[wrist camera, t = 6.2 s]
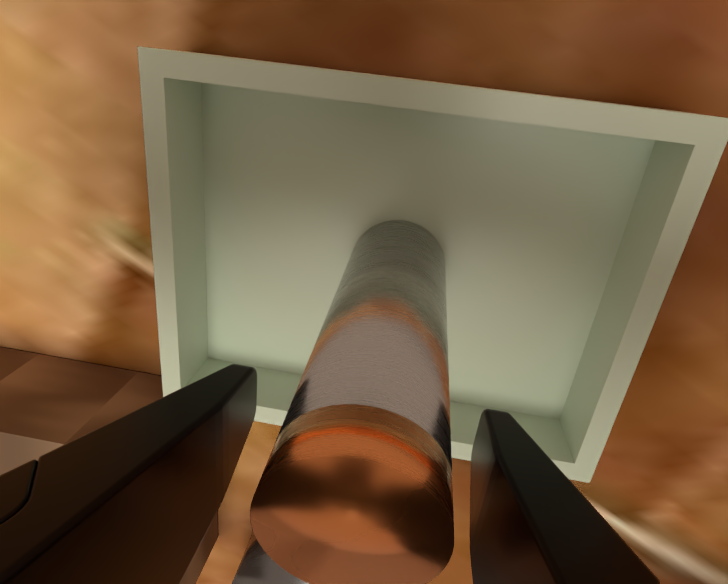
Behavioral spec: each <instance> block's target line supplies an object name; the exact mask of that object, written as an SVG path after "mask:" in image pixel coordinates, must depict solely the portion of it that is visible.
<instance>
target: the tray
mask: <svg viewBox="0 0 728 584" xmlns="http://www.w3.org/2000/svg"><path fill="white" fill-rule="evenodd" d="M137 48H138V62H139V75H140V89H141V102H142V116H143V130H144V143H145V157H146V170H147V184H148V198H149V211H150V225H151V238H152V252H153V266H154V279H155V293H156V306H157V320H158V334H159V347H160V361H161V374H162V388H163V397H164V396H166V395H168V394H171V393H173V392H175V391H177V390H179V389H181V388H183V387H185V386H187V385H189V384H191V383H193V382H195V381H198V380H200V379H202V378H204V377H206V376H208V375H210V374H212V373H214V372H216V371H218V370H220V369H223V368H225V367H227V366H229V365H231V364H239V365H245V366H250V367H254V368H255V369H256V371H257V406H256V413H255V417H254V421H258V422H263V423H269V424H274V425H280V426H282V425H283V422H284V420H285V417H286V415H287V412H288V410H289V407H290V405H291V402H292V400H293V397H294V395H295V392H296V390H297V387H298V385H299V382H300V380H301V377H302V375H303V373H304V370H305V368H306V365H307V363H308V360H309V358H310V355H311V353H312V350H313V348H314V345H315V343H316V340H317V338H318V335H319V333H320V330H321V328H322V325H323V323H324V320H325V318H326V315H327V313H328V311H329V308H330V306H331V303H332V301H333V298H334V296H335V293H336V291H337V288H338V286H339V283H340V281H341V278H342V276H343V273H344V271H345V268H346V266H347V263H348V261H349V258H350V256H351V253H352V251H353V248H354V246H355V244H356V242H357V241H358V239H359V238H360V236H361V235H362V234H363V233H364V232H365V231H367V230H368V229H369V228H371V227H372V226H374V225H376V224H379V223H382V222H385V221H390V220H404V221H409V222H413V223H415V224H418V225H420V226H422V227H424V228H425V229H427V230H428V231H429V232H430V233H431V234H433V236H434V237H435V238H436V239H437V241H438V242H439V244H440V245H441V248H442V250H443V253H444V257H445V273H446V304H447V335H448V366H449V397H450V427H451V457H452V458H458V459H463V460H468V461H471V454H472V448H473V443H474V440H475V436H476V432H477V428H478V424H479V420H480V417H481V414H482V412H483V410H484V409H493V410H499V411H505V412H508V413H509V414H511V415H512V416H513V418H514V419H515V420H516V421H517V422H518V423H519V424H520V425H521V426H522V428H523V429H524V430H525V431H526V432H527V433H528V434H529V435H530V437H531V438H532V439H533V440H534V441H535V442H536V443H537V444H538V445H539V447H540V448H541V449H542V450H543V451H544V452H545V453H546V454H547V456H548V457H549V458H550V459H551V460H552V461H553V462H554V463H555V464H556V466H557V467H558V468H559V469H560V470H561V471H562V472H563V473H564V475H565V476H566V477H567V478H568V479H571V480H576V481H582V482H587V483H590V481H591V479H592V476H593V474H594V471H595V469H596V466H597V464H598V461H599V459H600V456H601V454H602V451H603V449H604V446H605V444H606V441H607V439H608V436H609V434H610V431H611V429H612V426H613V424H614V421H615V419H616V416H617V414H618V412H619V409H620V407H621V404H622V402H623V399H624V397H625V394H626V392H627V389H628V387H629V384H630V382H631V379H632V377H633V374H634V372H635V369H636V367H637V364H638V362H639V359H640V357H641V354H642V352H643V349H644V347H645V344H646V342H647V340H648V337H649V335H650V332H651V330H652V327H653V325H654V322H655V320H656V317H657V315H658V312H659V310H660V307H661V305H662V302H663V300H664V297H665V295H666V292H667V290H668V287H669V285H670V282H671V280H672V277H673V275H674V272H675V270H676V267H677V265H678V263H679V260H680V258H681V255H682V253H683V250H684V248H685V245H686V243H687V240H688V238H689V235H690V233H691V230H692V228H693V225H694V223H695V220H696V218H697V215H698V213H699V210H700V208H701V205H702V203H703V200H704V198H705V195H706V193H707V191H708V188H709V186H710V183H711V181H712V178H713V176H714V173H715V171H716V168H717V166H718V163H719V161H720V158H721V156H722V153H723V151H724V148H725V146H726V143H727V141H728V118H724V117H717V116H710V115H703V114H696V113H689V112H682V111H674V110H665V109H657V108H649V107H641V106H632V105H624V104H616V103H608V102H600V101H591V100H583V99H575V98H567V97H558V96H550V95H542V94H534V93H526V92H517V91H509V90H501V89H493V88H484V87H476V86H468V85H460V84H452V83H443V82H435V81H427V80H419V79H411V78H402V77H394V76H386V75H378V74H369V73H361V72H353V71H345V70H337V69H328V68H320V67H312V66H304V65H295V64H287V63H279V62H271V61H263V60H254V59H246V58H238V57H230V56H221V55H213V54H205V53H197V52H189V51H179V50H169V49H159V48H149V47H140V46H137Z"/></svg>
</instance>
